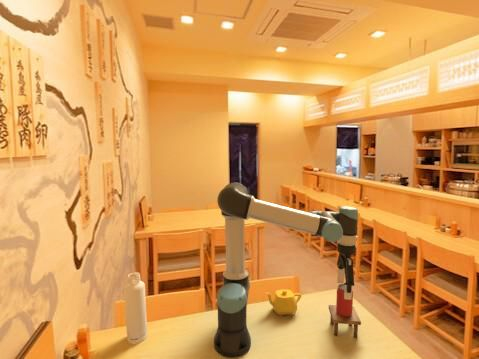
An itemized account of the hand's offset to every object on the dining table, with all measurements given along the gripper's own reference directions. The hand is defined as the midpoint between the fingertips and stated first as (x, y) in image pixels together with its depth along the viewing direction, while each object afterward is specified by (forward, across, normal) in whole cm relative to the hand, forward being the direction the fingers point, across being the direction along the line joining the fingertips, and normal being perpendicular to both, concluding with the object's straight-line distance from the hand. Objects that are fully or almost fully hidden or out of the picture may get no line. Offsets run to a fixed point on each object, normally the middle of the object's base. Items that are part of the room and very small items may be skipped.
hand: (343, 290), depth 120 cm
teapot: (+19, +11, +25) cm, 33 cm away
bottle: (+20, -16, +87) cm, 91 cm away
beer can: (+10, 0, -1) cm, 10 cm away
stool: (+18, 0, -1) cm, 18 cm away
